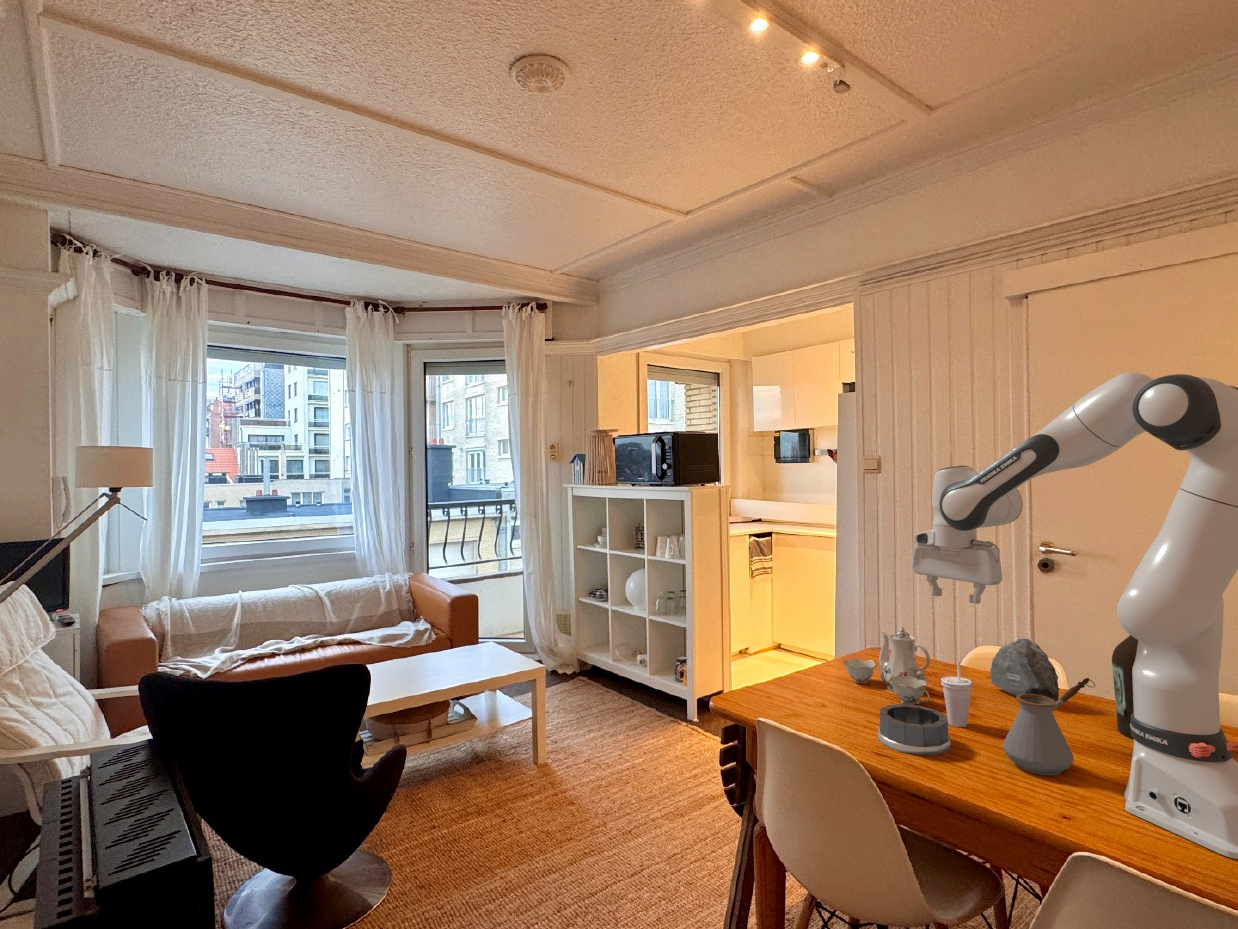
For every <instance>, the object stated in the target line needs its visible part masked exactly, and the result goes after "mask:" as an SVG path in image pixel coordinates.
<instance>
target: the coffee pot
mask: <svg viewBox="0 0 1238 929" xmlns="http://www.w3.org/2000/svg"><path fill="white" fill-rule="evenodd" d="M1089 682H1091V683H1093V686H1091V685H1089ZM1086 686H1087V687H1089V688H1092V689H1093V688H1096V683H1095V681H1093V680H1091V679H1090V678H1089V677H1085V678H1084V679H1082V681H1078V682H1077V684H1076V685H1074V686H1073V687H1070V688H1069V689H1068V690H1067V691H1066V692H1065V693H1064V694H1063V695H1062V696H1061V697H1060V698H1058V701H1057V702H1055V701H1054V700H1053V699H1051V698H1048V697H1045V696H1041V695H1035V694H1020V695H1018V696H1016V701H1018V702H1019V706H1020V707H1019V708H1020V709H1019V710H1018V712H1017V714H1016V717H1015V718H1014V720H1013V722H1012V725H1011V727H1010V728H1009V731H1008V733H1007V735H1006V737H1005V739H1004V741H1003V744H1002V749H1003V751H1004V752H1005V754H1006V756H1007V757H1008V759H1009V760H1010V761H1011V762H1013V763H1014V765H1015V766H1016V767H1018V768H1019V769H1021V770H1022V771H1025V772H1029V773H1032V774H1034V775H1042V776H1058V775H1061V774H1062V772H1063V771H1066V770H1068V769H1069V768H1070V767H1071V766H1072V764H1073V762H1074V760H1075V758H1074V755H1073V753H1072V750H1071V748H1070V746H1069V744H1068V742H1067V739H1066V738H1065V736H1064V733H1063V732H1062V730H1061V728H1060V726H1059V724H1058V721H1057V720H1056V718H1055V716H1054V713H1053V712H1055V710H1056V709H1057V708H1059V707H1060V706H1061V705H1062V704H1063V703H1064V704H1065V703H1066V702H1067V701H1068V700H1070V699H1071V698H1072V697H1074V696H1075V695H1077V694H1078V692H1079V691H1080V690H1081V689H1084V688H1085V687H1086Z"/></svg>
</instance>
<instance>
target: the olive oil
mask: <svg viewBox="0 0 1238 929" xmlns="http://www.w3.org/2000/svg"><path fill="white" fill-rule="evenodd" d="M1137 646H1138V640H1137V639H1135V638H1134V637H1132V636H1131V635H1130V634H1129V636H1128V637H1126V638H1124V639H1123V640H1122V641H1121V642H1120V643H1119V644H1117V645H1116V646H1115V647H1114V649H1113V651H1112V655H1111V666H1112V667H1111V668H1112V676H1113V678H1112V679H1113V689H1114V696H1115V697H1114V698H1115V699H1114V700H1115V712H1116V724H1117V731H1118V733H1120V734H1121V735H1123V736H1125V737H1126V738H1129V739H1133V740H1134V738H1133V737H1132V736H1131V728H1130V723H1131V715H1132V714H1133V713H1134V707H1133V677H1132V669H1133V665H1134V662H1135V658H1136V653H1137Z"/></svg>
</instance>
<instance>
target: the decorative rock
mask: <svg viewBox="0 0 1238 929" xmlns="http://www.w3.org/2000/svg"><path fill="white" fill-rule="evenodd" d="M989 674H990V682H991V683H992V684H993V686H995V687H996V688H999V689H1001V690H1003V691H1004V692H1005V693H1009V694H1011V695H1013V696H1016V697H1017V696H1018V695H1020V694H1035V695H1041V696H1045V697H1048V698H1051V699H1053V700H1054V701H1055V702H1057V701H1058V700H1059V699H1060V698H1059V697H1060V692H1059V691H1060V688H1059V682H1058V681H1059V680H1058V679H1059V675H1058V673H1057V672H1056V668H1055V666H1054V664H1053V663H1052V662H1051V661H1050V660H1049V657H1048V654H1047V653H1046V652H1045V651H1043V650H1042V648H1041V647H1040V645H1038V644H1037V643H1036V642H1034V641H1032V640H1031V639H1030V638H1018V639H1017V640H1016V641H1013V642H1009V643H1007V644H1005V645H1003V646H1001V647H1000V648H999V649H998V651H997V652H996V653H995V655H994V657H993V658H992V660H991V667H990V669H989Z"/></svg>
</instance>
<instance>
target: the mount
mask: <svg viewBox="0 0 1238 929" xmlns="http://www.w3.org/2000/svg"><path fill="white" fill-rule="evenodd" d="M877 739H878V740H879V742H880V743H881V744H882V745H884V746H885V747H887V748H889V749H891V750H893V751H896V752H900V753H904V754H908V755H913V754H914V755H915V756H929V757H930V756H937V755H938V756H939V755H943V754H945V753H947V752H950V750H951V748H952V747H951V746H952V745H951V744H952V742H951V741H952V740H951V737H950V735H949V722H948V716H947V715H946V714H944V713H942V712H940V711H939V710H937V709H933V708H930V707H928V706H927V707H925V706H922V705H919V704H917V705H916V704H913V705H909V704H904V703H899V704H888V705H886V706H883V707H881V708H879V726H878V728H877Z"/></svg>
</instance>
